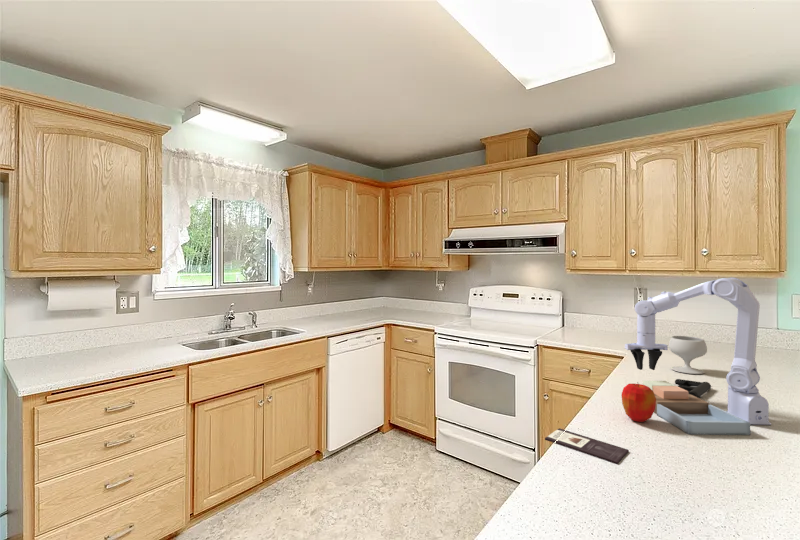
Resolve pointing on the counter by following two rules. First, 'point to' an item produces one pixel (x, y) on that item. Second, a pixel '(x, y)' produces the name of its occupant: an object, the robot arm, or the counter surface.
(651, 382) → the tile rear
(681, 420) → the box
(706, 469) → the counter surface
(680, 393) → the tile front
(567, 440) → the chocolate bar
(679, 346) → the chalice
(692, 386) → the black toy gun
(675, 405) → the walnut board
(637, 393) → the apple
